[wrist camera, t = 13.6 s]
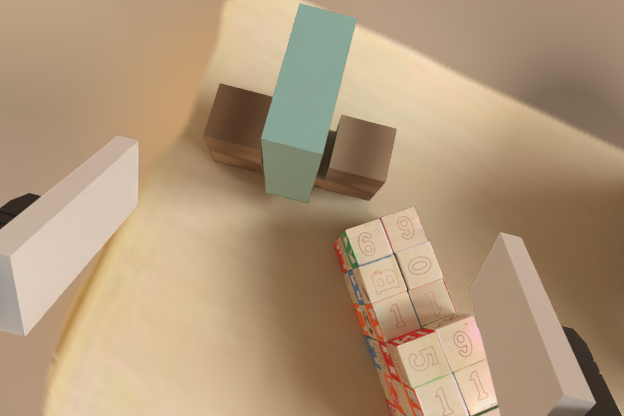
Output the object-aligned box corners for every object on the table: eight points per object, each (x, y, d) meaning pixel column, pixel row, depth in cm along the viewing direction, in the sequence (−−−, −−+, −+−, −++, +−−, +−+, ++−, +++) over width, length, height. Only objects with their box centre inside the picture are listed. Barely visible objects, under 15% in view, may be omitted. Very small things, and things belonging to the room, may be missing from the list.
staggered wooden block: (379, 154, 47) (396, 129, 40) (369, 200, 46) (385, 181, 39) (228, 115, 47) (219, 83, 40) (214, 161, 46) (203, 135, 39)
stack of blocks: (330, 243, 45) (350, 220, 33) (389, 224, 46) (429, 195, 34) (408, 467, 41) (462, 533, 29) (470, 441, 42) (548, 495, 30)
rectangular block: (332, 106, 45) (356, 18, 31) (308, 203, 42) (322, 154, 29) (292, 96, 45) (299, 3, 31) (266, 192, 42) (261, 138, 29)
